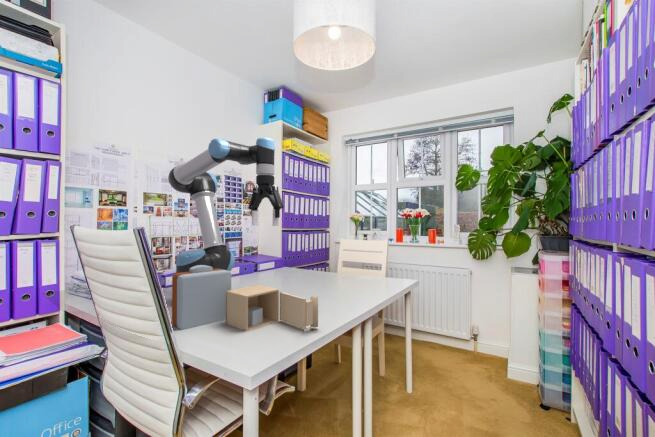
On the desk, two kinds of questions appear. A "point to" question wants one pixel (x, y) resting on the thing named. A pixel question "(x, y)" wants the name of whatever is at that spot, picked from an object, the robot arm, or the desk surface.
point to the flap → (299, 310)
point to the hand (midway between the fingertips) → (265, 226)
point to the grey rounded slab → (199, 296)
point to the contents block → (255, 315)
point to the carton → (251, 297)
